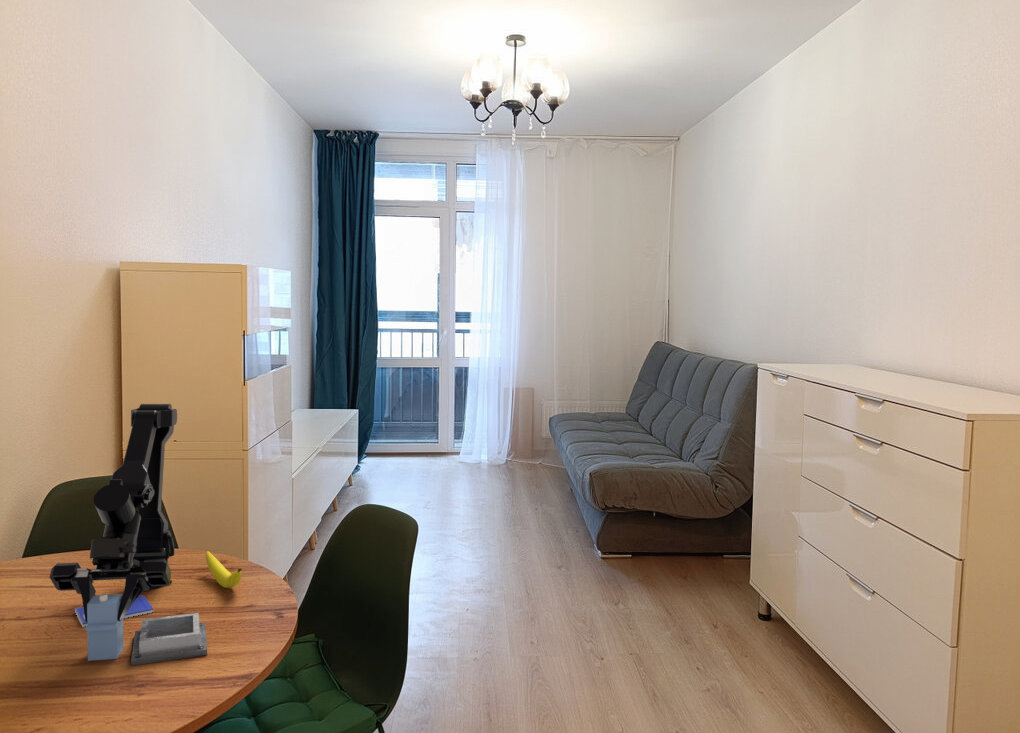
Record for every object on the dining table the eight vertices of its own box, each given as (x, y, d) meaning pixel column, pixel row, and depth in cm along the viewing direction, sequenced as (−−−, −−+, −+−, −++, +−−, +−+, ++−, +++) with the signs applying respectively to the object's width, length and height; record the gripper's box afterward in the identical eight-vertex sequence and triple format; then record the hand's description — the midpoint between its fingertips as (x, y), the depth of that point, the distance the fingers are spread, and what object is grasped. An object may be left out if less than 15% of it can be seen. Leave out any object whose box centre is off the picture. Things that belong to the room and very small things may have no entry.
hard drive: (82, 622, 143) (153, 607, 151) (74, 607, 150) (143, 594, 157) (82, 630, 143) (153, 615, 151) (74, 615, 150) (143, 601, 157)
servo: (96, 647, 135) (95, 587, 134) (124, 645, 136) (124, 586, 135) (86, 663, 130) (85, 600, 129) (115, 661, 131) (114, 599, 130)
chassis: (135, 636, 140) (135, 617, 140) (205, 627, 145) (205, 609, 145) (131, 665, 129) (131, 645, 129) (207, 654, 134) (207, 635, 134)
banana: (213, 570, 175) (213, 543, 174) (247, 596, 160) (247, 567, 160) (200, 573, 173) (200, 546, 172) (233, 600, 158) (233, 570, 158)
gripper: (52, 519, 133) (29, 605, 123) (167, 515, 137) (154, 599, 127) (68, 548, 141) (47, 631, 131) (176, 544, 145) (164, 624, 136)
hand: (103, 621), depth 131 cm, fingers closed on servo, 5 cm apart
